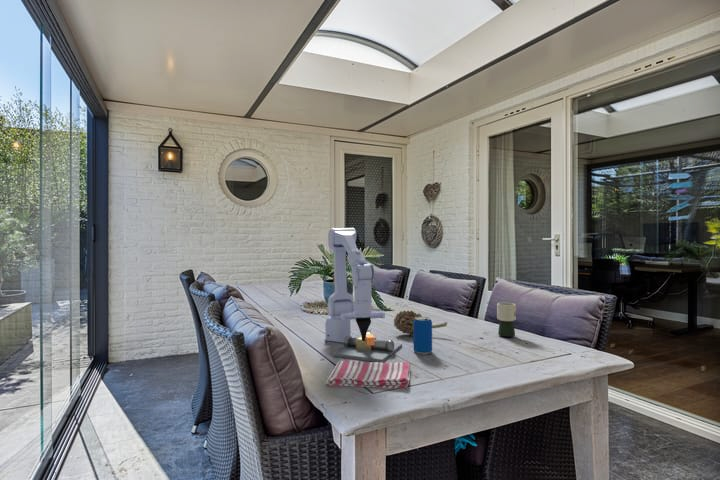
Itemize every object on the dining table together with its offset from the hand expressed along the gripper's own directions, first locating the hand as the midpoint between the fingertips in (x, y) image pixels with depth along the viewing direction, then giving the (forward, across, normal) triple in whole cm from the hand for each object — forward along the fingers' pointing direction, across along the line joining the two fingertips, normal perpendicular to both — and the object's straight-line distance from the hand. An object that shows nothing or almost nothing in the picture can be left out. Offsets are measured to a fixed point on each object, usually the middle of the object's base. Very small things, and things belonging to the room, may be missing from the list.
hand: (363, 340), depth 139 cm
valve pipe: (+6, +3, +7) cm, 10 cm away
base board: (+6, +3, +7) cm, 10 cm away
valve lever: (+1, +2, +3) cm, 4 cm away
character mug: (+6, +61, +15) cm, 63 cm away
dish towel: (+7, -2, -17) cm, 19 cm away
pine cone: (+6, +28, +24) cm, 38 cm away
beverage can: (+6, +22, +2) cm, 23 cm away
